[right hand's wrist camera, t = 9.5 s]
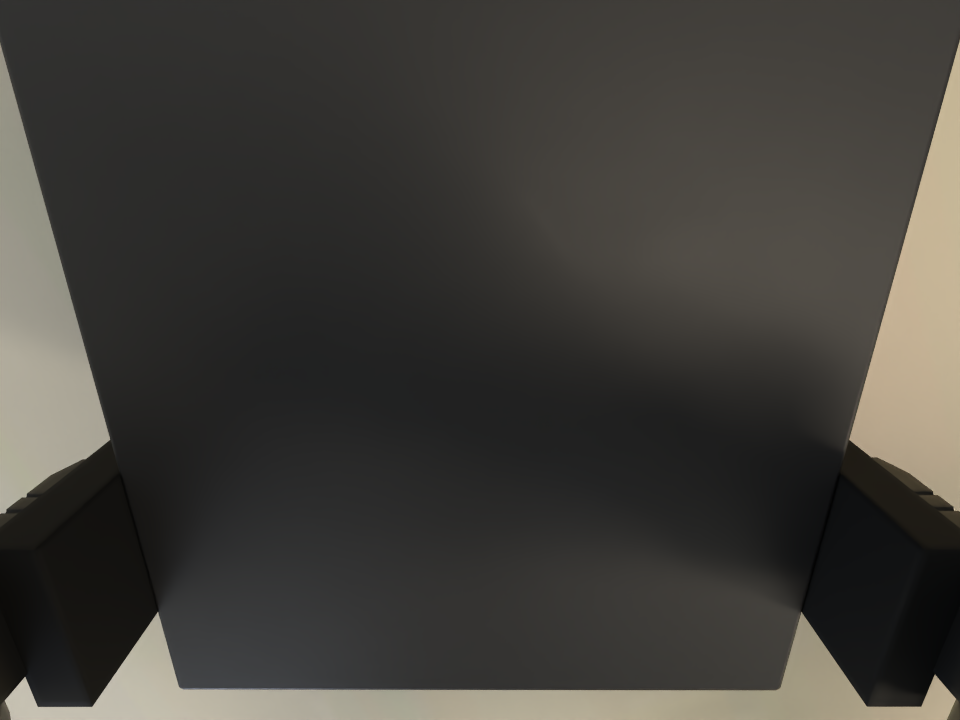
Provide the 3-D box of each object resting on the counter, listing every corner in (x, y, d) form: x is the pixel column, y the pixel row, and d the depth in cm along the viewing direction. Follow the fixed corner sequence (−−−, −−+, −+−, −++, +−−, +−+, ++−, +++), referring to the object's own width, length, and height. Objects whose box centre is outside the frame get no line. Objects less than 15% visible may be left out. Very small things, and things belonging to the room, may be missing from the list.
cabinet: (205, -406, 11) (-566, -1955, 3) (755, -407, 11) (1527, -1971, 3) (313, 448, 18) (176, 692, 10) (647, 449, 18) (781, 693, 10)
